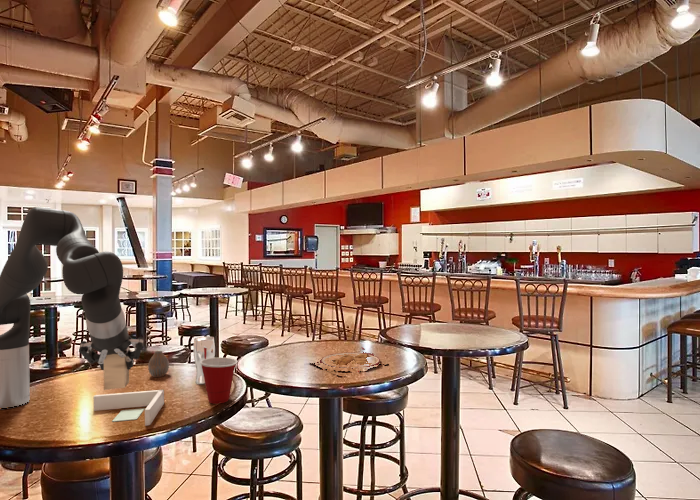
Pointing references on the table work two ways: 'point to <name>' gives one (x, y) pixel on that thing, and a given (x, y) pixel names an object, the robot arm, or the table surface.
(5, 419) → the table surface
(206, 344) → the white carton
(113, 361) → the maple block
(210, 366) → the plastic cup
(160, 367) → the vase
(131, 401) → the corner arena
